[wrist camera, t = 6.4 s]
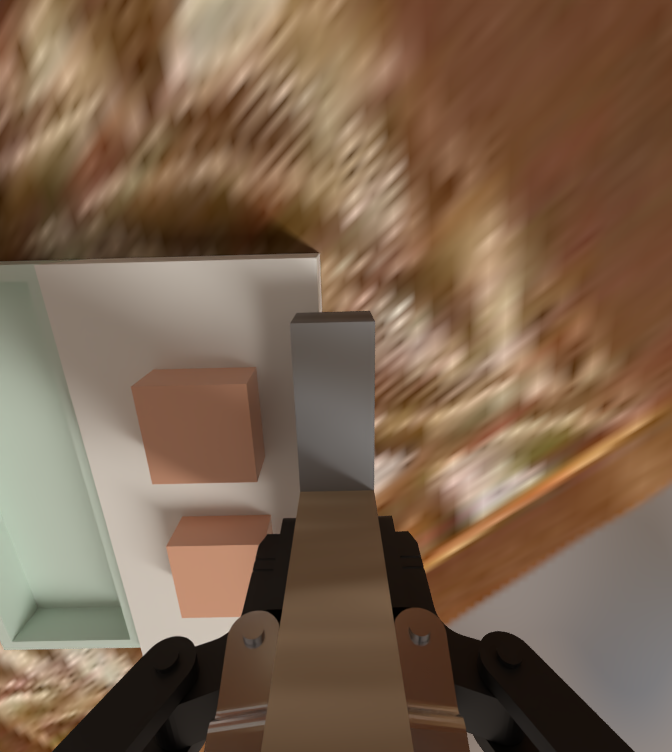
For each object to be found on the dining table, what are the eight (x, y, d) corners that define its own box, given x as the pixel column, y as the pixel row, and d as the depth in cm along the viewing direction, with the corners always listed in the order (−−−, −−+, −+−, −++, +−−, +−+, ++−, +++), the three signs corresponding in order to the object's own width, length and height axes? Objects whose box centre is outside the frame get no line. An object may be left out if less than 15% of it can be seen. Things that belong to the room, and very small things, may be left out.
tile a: (153, 369, 15) (130, 386, 14) (256, 366, 15) (246, 383, 14) (170, 458, 17) (152, 484, 15) (265, 456, 17) (257, 482, 15)
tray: (-98, 263, 17) (-168, 269, 15) (79, 259, 17) (38, 264, 14) (36, 608, 24) (4, 649, 21) (162, 606, 24) (143, 647, 21)
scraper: (296, 312, 14) (200, 467, 4) (369, 310, 14) (446, 461, 4) (313, 623, 18) (286, 1050, 8) (369, 622, 18) (405, 1050, 8)
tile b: (182, 516, 18) (166, 546, 16) (271, 514, 18) (264, 544, 16) (195, 583, 19) (181, 618, 17) (277, 582, 19) (272, 616, 17)
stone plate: (84, 259, 17) (33, 265, 14) (319, 252, 17) (316, 257, 14) (166, 605, 24) (143, 656, 21) (332, 602, 24) (332, 653, 21)
